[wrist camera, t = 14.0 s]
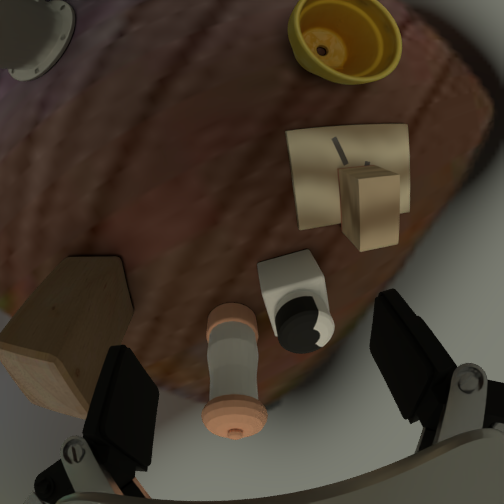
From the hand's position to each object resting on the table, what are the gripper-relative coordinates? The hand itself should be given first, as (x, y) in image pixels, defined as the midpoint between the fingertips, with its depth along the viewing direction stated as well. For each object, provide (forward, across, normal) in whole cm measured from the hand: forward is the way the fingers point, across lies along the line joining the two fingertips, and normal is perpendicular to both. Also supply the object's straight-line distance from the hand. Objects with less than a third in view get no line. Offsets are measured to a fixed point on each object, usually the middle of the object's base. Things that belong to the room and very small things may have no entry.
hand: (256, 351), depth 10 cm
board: (+25, -15, +1) cm, 29 cm away
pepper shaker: (+25, +5, +20) cm, 32 cm away
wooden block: (+25, +22, +9) cm, 35 cm away
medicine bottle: (+25, -4, +14) cm, 29 cm away
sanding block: (+24, -15, +4) cm, 28 cm away
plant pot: (+25, -13, -14) cm, 32 cm away
